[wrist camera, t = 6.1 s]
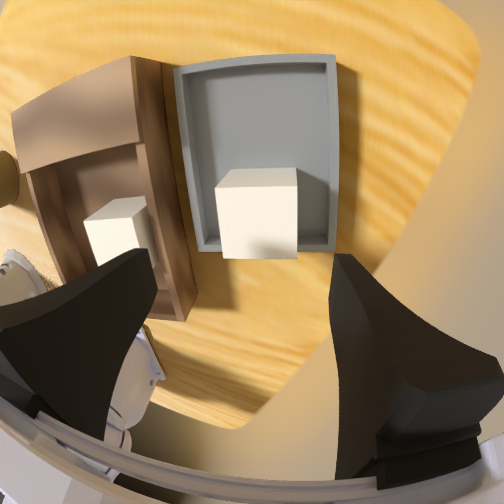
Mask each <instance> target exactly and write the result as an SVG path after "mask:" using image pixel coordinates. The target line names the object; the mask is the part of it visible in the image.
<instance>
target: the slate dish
mask: <svg viewBox="0 0 504 504" xmlns="http://www.w3.org/2000/svg"><path fill="white" fill-rule="evenodd" d="M173 75H174V85H175V95H176V105H177V114H178V122H179V130H180V138H181V146H182V153H183V160H184V167H185V174H186V181H187V188H188V194H189V200H190V206H191V212H192V218H193V224H194V230H195V235H196V241H197V246H198V252H222V245H221V237H220V229H219V221H218V213H217V204H216V196H215V187H216V186H217V185H218V184H219V183H220V181H221V180H222V179H223V178H224V177H225V176H226V174H227V173H228V172H229V171H230V170H231V169H253V168H296V175H297V252H335V248H336V233H337V216H338V193H339V108H338V86H337V70H336V57H335V55H330V54H277V55H260V56H248V57H238V58H229V59H222V60H215V61H208V62H202V63H197V64H191V65H186V66H181V67H176V68H173Z"/></svg>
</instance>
